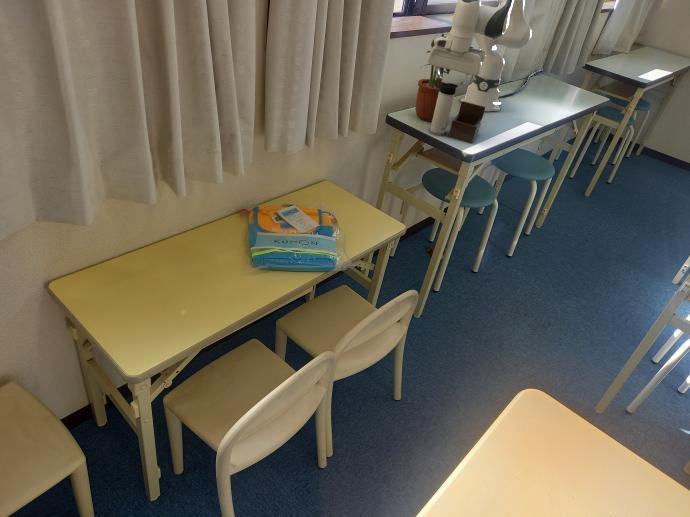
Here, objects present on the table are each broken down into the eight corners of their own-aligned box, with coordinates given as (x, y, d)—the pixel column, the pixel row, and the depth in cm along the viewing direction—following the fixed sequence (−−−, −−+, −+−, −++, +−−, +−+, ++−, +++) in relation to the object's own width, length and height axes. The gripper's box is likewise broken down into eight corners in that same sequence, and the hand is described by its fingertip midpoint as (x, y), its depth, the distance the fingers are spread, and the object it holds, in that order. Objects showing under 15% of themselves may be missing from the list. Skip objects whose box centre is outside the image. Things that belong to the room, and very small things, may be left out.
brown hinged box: (454, 128, 207) (462, 100, 200) (477, 134, 205) (485, 106, 197) (448, 136, 199) (455, 108, 192) (471, 143, 196) (480, 114, 189)
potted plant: (434, 126, 206) (455, 39, 185) (401, 116, 211) (418, 29, 190) (448, 116, 218) (470, 32, 197) (417, 106, 224) (435, 24, 203)
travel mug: (445, 136, 199) (457, 87, 187) (429, 133, 199) (440, 84, 187) (445, 131, 204) (458, 83, 192) (430, 128, 204) (441, 80, 192)
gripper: (488, 48, 180) (478, 85, 189) (435, 36, 186) (428, 73, 194) (485, 52, 175) (474, 90, 184) (431, 39, 181) (423, 77, 189)
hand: (450, 81), depth 189 cm, fingers open, 8 cm apart
